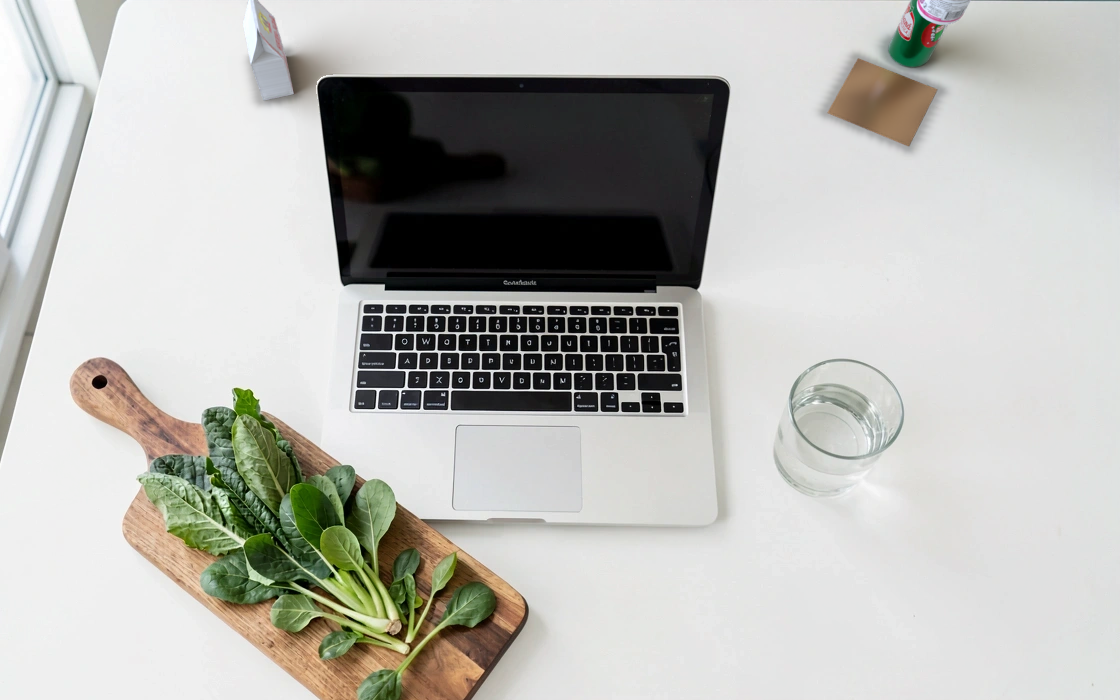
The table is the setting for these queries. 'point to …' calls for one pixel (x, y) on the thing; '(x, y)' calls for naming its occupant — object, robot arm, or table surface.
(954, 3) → the pill bottle
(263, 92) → the milk carton
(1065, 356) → the table surface
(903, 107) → the coaster
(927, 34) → the soda can
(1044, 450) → the table surface
